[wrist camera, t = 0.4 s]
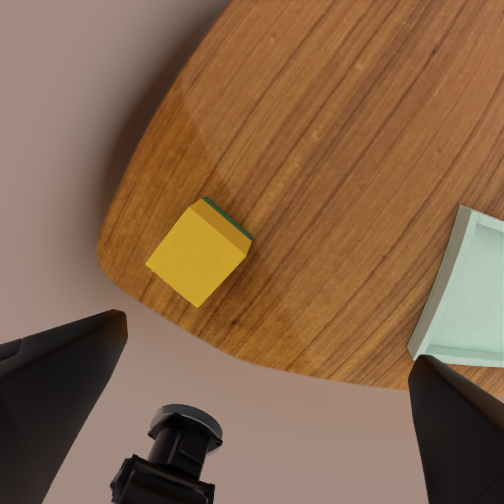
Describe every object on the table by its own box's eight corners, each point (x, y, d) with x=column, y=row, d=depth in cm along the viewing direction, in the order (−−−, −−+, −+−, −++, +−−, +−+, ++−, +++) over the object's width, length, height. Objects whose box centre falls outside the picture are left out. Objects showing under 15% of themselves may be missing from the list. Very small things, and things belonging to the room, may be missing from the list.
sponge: (210, 283, 25) (197, 309, 21) (165, 245, 24) (144, 264, 20) (253, 237, 23) (246, 256, 19) (205, 195, 23) (188, 206, 19)
